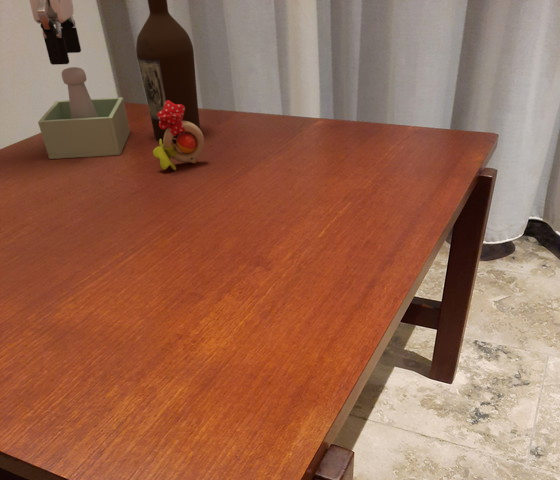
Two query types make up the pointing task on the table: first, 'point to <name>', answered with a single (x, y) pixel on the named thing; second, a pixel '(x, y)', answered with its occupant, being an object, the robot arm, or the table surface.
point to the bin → (85, 130)
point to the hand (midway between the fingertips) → (66, 58)
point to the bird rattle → (186, 141)
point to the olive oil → (167, 66)
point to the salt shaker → (78, 93)
